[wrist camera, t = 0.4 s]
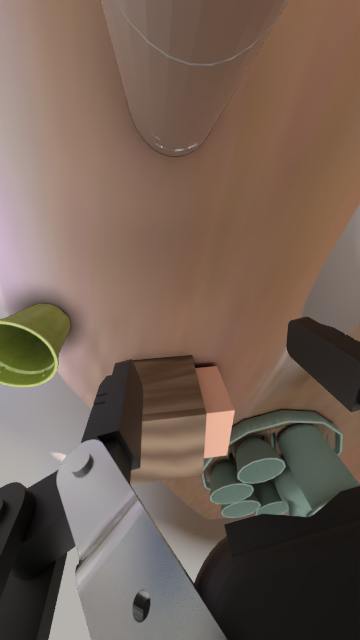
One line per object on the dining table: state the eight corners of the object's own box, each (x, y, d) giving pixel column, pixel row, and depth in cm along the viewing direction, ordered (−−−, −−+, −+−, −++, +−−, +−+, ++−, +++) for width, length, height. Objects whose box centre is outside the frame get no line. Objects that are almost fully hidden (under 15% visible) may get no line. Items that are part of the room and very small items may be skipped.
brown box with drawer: (126, 361, 34) (111, 425, 23) (191, 355, 35) (206, 414, 24) (138, 417, 41) (131, 484, 31) (191, 411, 42) (202, 474, 32)
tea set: (182, 433, 47) (193, 529, 32) (342, 389, 45) (430, 470, 30) (212, 495, 66) (228, 573, 51) (325, 466, 64) (374, 538, 49)
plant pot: (82, 297, 28) (53, 327, 20) (83, 349, 32) (60, 389, 24) (9, 287, 26) (-54, 315, 18) (21, 343, 30) (-26, 385, 22)
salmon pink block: (165, 370, 34) (168, 417, 26) (217, 366, 35) (234, 410, 27) (169, 413, 40) (172, 462, 32) (213, 408, 41) (227, 455, 32)
